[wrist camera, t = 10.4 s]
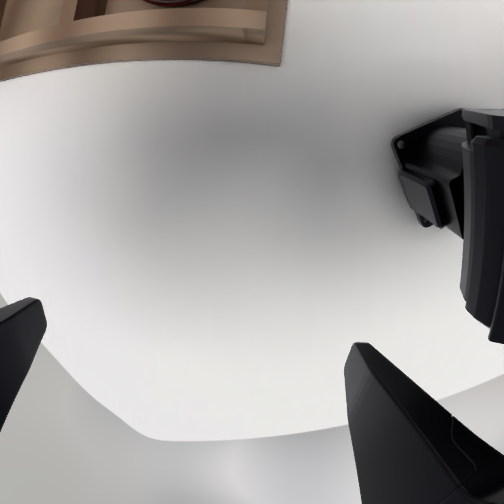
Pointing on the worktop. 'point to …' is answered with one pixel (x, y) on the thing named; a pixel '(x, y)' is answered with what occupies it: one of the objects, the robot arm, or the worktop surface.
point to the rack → (136, 33)
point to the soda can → (169, 2)
